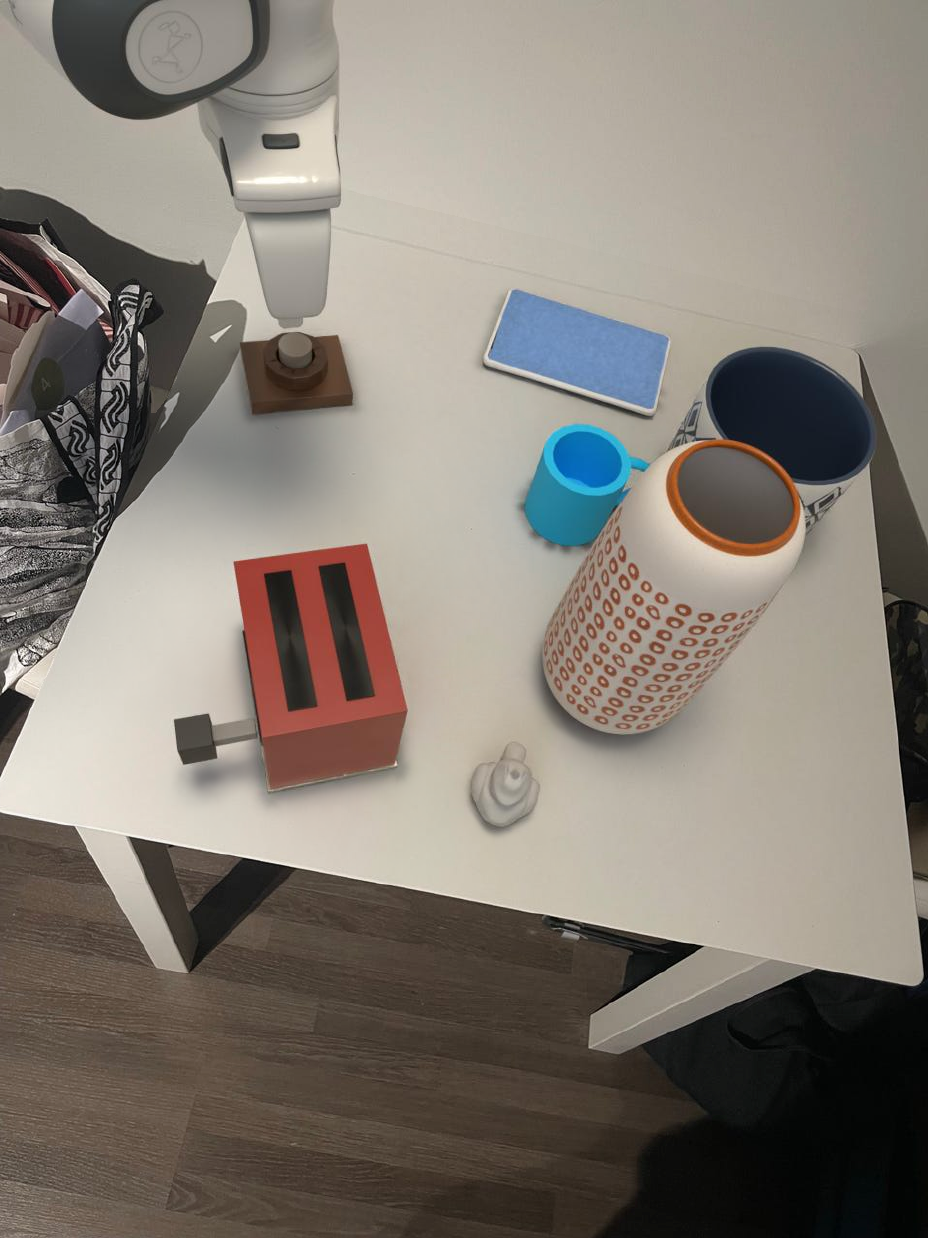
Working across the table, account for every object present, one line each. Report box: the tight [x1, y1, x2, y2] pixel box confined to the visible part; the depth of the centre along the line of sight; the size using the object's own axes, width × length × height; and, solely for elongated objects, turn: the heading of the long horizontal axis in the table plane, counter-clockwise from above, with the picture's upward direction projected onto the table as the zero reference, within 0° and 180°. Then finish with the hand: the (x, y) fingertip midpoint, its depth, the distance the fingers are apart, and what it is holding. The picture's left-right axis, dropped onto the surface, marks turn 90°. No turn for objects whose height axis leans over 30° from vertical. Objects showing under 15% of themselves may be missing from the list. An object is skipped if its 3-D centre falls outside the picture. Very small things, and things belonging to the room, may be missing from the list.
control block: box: [239, 331, 354, 415], centre depth 87 cm, size 10×8×4 cm
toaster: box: [233, 543, 408, 794], centre depth 67 cm, size 10×14×12 cm
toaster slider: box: [173, 713, 258, 766], centre depth 62 cm, size 5×2×3 cm, turn 105°
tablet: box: [482, 288, 672, 417], centre depth 95 cm, size 19×13×1 cm, turn 74°
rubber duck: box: [470, 741, 541, 827], centre depth 67 cm, size 5×7×8 cm
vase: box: [541, 440, 806, 735], centre depth 65 cm, size 13×13×28 cm
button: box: [278, 333, 312, 369], centre depth 85 cm, size 3×3×2 cm
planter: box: [665, 346, 877, 537], centre depth 82 cm, size 16×16×14 cm
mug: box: [524, 423, 651, 547], centre depth 82 cm, size 12×8×8 cm
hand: (280, 276), depth 67 cm, fingers open, 8 cm apart
